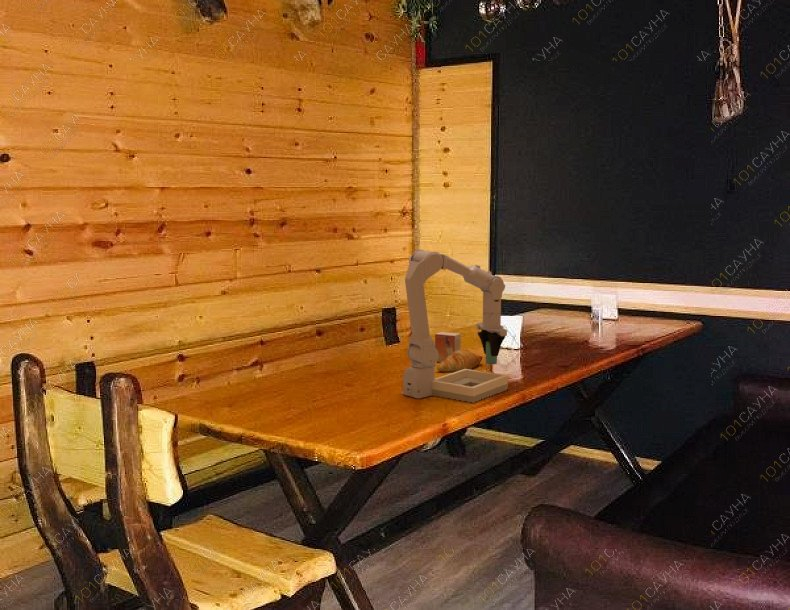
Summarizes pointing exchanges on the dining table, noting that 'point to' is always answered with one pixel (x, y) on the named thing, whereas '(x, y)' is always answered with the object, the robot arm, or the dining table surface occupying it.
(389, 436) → the dining table surface
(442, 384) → the bore tray
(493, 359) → the peg
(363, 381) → the dining table surface
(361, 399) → the dining table surface
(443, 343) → the small box
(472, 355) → the croissant
